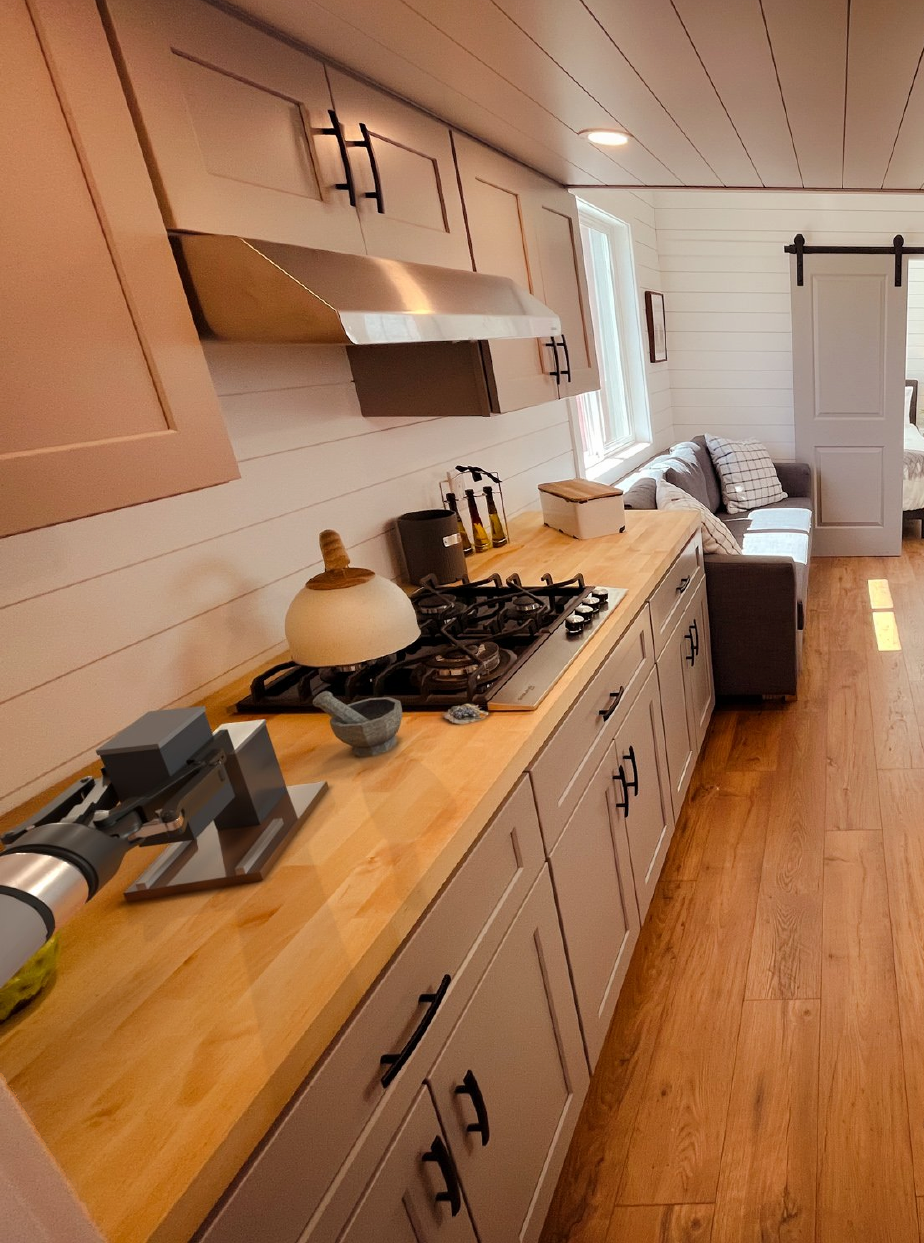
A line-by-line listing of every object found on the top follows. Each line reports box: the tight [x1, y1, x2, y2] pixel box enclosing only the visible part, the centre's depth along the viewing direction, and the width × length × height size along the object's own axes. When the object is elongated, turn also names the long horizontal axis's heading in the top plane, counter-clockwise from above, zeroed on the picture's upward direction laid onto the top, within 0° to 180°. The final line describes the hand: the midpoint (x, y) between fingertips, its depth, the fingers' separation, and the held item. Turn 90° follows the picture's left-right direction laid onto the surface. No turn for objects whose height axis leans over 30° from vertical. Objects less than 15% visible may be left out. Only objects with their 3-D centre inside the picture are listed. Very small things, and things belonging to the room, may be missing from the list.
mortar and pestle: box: [312, 690, 403, 758], centre depth 113 cm, size 11×9×12 cm
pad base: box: [122, 719, 330, 903], centre depth 92 cm, size 14×20×14 cm
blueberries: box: [441, 703, 489, 725], centre depth 126 cm, size 7×8×2 cm
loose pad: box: [95, 705, 235, 848], centre depth 76 cm, size 5×8×12 cm, turn 15°
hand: (197, 742), depth 81 cm, fingers closed on loose pad, 5 cm apart
